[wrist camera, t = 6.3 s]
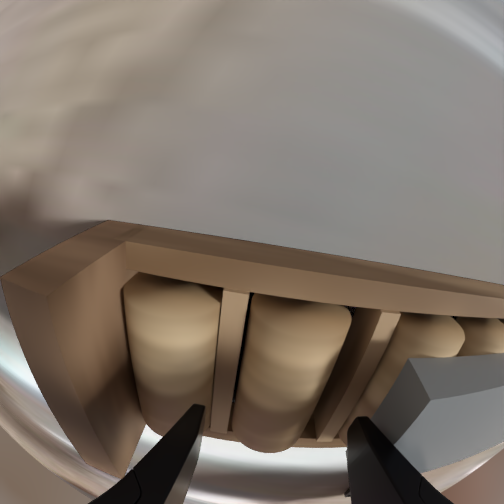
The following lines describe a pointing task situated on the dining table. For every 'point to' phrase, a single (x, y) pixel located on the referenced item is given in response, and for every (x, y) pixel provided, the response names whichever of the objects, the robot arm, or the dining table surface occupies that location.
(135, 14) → the dining table surface
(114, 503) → the robot arm
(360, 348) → the roller bed
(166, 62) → the dining table surface
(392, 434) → the slab
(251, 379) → the roller
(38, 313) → the stop wall
